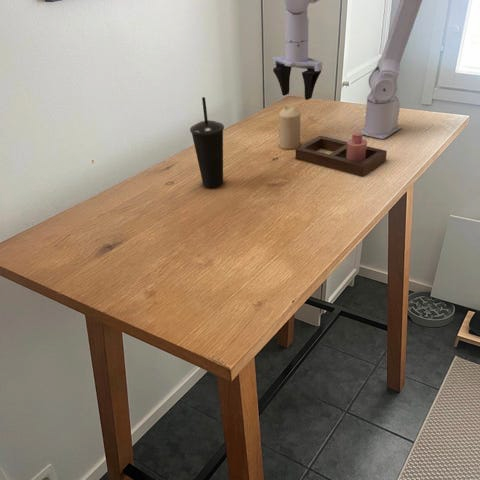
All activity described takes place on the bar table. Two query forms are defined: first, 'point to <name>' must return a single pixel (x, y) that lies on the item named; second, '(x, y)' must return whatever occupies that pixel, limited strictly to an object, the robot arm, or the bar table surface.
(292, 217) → the bar table surface
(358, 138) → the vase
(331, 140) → the holder
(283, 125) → the candle
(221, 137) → the drinking cup
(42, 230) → the bar table surface
